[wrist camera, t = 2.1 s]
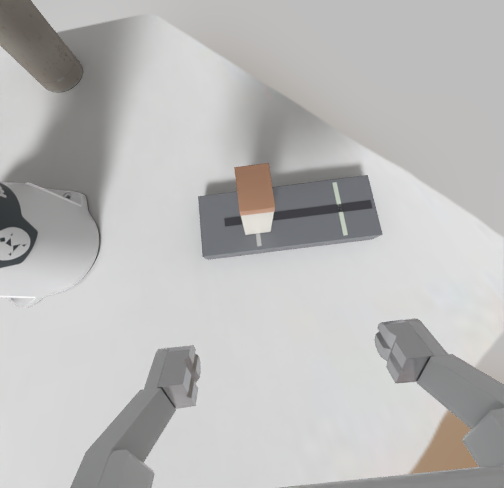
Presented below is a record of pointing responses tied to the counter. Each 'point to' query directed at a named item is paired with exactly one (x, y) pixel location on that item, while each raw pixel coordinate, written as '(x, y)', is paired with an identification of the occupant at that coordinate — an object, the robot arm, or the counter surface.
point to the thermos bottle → (37, 46)
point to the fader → (255, 197)
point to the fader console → (292, 218)
